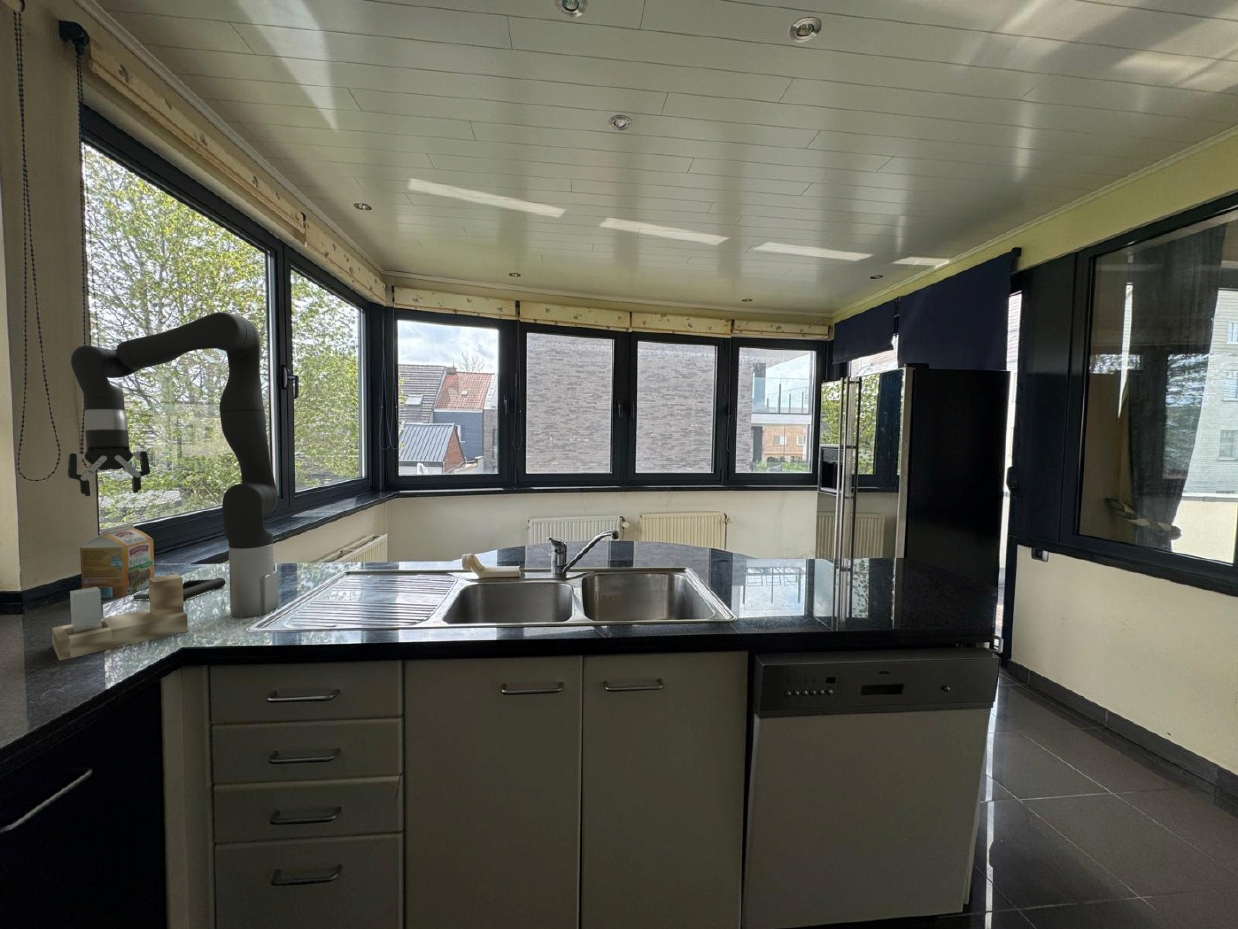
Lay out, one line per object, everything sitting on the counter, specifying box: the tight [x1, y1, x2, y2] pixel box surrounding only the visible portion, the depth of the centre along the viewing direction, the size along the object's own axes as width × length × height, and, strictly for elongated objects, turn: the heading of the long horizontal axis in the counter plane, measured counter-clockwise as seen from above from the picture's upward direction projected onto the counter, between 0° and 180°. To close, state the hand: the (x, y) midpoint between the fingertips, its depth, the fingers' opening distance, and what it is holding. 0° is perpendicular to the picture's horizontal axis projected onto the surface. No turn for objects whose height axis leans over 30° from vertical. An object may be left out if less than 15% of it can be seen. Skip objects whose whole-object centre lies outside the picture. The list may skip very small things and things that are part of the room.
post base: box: [51, 573, 189, 661], centre depth 113 cm, size 20×11×12 cm, turn 143°
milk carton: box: [79, 523, 156, 599], centre depth 145 cm, size 10×11×19 cm
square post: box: [69, 587, 102, 635], centre depth 108 cm, size 4×4×12 cm
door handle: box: [132, 577, 227, 602], centre depth 143 cm, size 3×20×16 cm
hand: (112, 494), depth 127 cm, fingers open, 8 cm apart
